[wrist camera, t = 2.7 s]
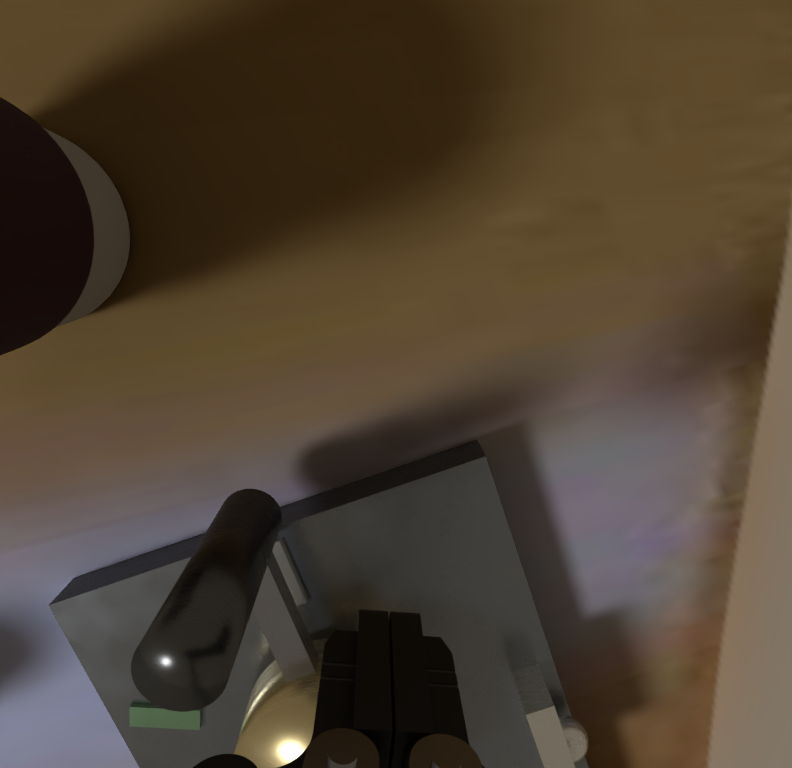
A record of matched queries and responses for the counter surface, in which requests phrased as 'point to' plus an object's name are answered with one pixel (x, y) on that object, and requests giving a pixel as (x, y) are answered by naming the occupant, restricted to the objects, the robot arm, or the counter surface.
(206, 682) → the cam capstan
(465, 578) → the stand
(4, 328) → the coffee cup
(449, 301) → the counter surface
